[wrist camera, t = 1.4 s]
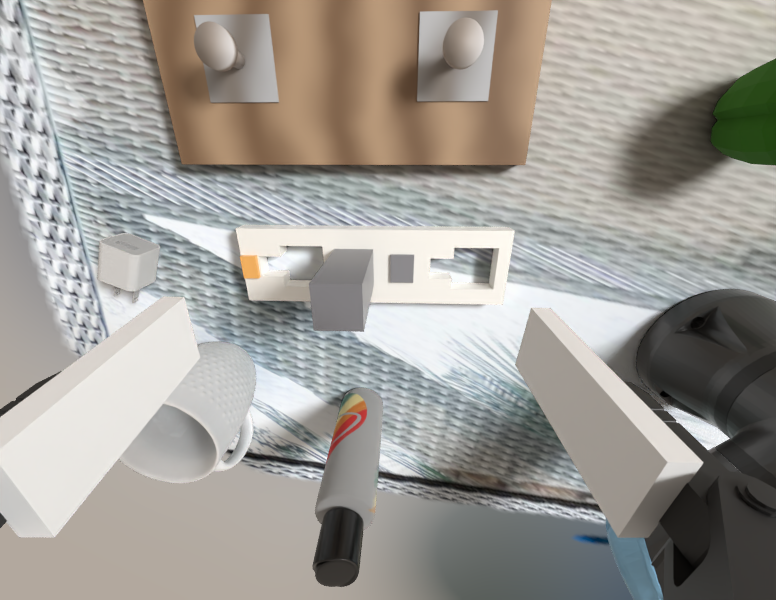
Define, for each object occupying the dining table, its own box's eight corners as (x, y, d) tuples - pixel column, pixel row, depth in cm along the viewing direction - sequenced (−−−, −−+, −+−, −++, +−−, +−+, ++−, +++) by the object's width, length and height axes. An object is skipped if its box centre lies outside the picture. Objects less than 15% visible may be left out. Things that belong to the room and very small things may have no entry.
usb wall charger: (163, 246, 36) (136, 256, 32) (155, 298, 39) (130, 312, 35) (126, 232, 36) (95, 240, 32) (121, 285, 38) (92, 298, 35)
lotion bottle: (335, 392, 43) (286, 564, 25) (374, 381, 42) (353, 551, 24) (351, 423, 45) (317, 602, 27) (389, 413, 44) (380, 592, 26)
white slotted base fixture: (508, 227, 34) (560, 260, 23) (497, 297, 37) (538, 356, 26) (244, 224, 35) (171, 255, 24) (256, 293, 38) (197, 348, 27)
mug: (297, 407, 45) (259, 498, 33) (229, 424, 46) (169, 516, 35) (245, 315, 39) (176, 385, 27) (169, 339, 41) (73, 413, 29)
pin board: (552, -63, 25) (595, -126, 19) (518, 164, 31) (542, 166, 26) (145, -53, 26) (76, -110, 20) (194, 163, 32) (151, 165, 27)
